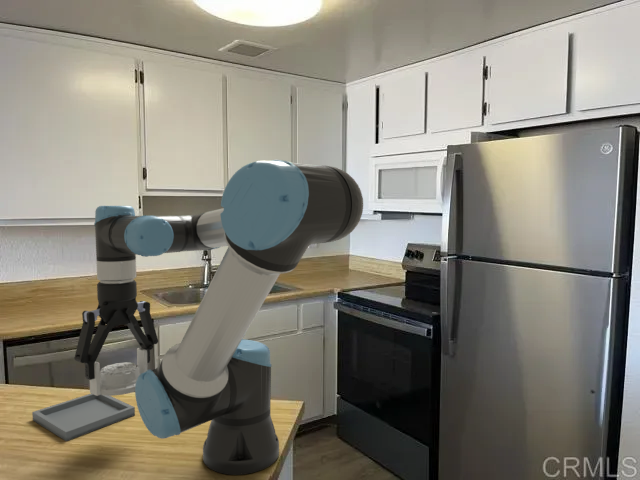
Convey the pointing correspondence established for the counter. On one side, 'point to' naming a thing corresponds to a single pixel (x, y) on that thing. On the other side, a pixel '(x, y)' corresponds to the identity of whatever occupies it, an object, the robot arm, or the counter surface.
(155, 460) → the counter surface
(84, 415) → the dock tray
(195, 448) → the counter surface
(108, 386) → the mechanical component
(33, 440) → the counter surface
